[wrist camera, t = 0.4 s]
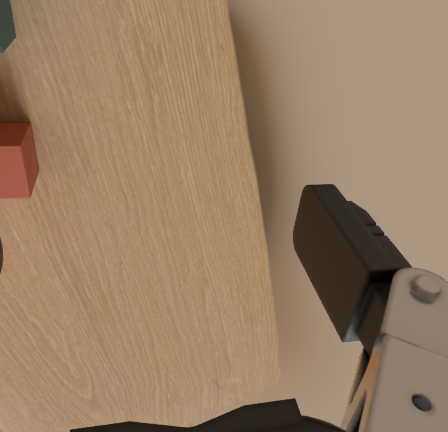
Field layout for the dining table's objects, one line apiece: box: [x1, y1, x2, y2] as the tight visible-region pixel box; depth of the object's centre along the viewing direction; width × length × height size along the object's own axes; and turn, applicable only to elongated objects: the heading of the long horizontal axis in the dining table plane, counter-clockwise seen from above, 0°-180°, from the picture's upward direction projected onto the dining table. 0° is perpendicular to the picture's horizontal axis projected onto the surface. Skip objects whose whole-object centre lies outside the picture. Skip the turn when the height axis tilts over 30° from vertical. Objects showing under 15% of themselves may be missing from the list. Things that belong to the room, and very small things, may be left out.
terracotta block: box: [0, 122, 39, 199], centre depth 34 cm, size 4×4×4 cm
